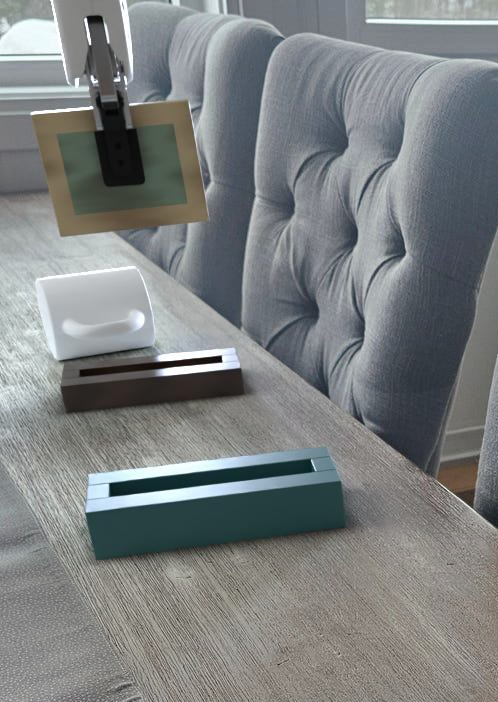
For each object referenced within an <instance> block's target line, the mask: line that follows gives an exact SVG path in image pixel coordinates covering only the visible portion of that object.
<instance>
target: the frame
mask: <svg viewBox="0 0 498 702" xmlns="http://www.w3.org/2000/svg"><path fill="white" fill-rule="evenodd" d="M129 108H130V114H131V119H132V125H133V129H135V128H136V129H137V135H138V141H139V147H140V152H141V158H142V164H143V170H144V175H145V182H144V184H141V185H129V186H115V187H108V186H106V185H105V184H104V181H103V175H102V170H101V165H100V160H99V155H98V149H97V144H96V139H95V134H94V131H97V128H96V123H95V118H94V113H93V107H92V106H89V107H88V106H87V107H77V108H65V109H55V110H42V111H41V110H40V111H32V112H31V113H30V117H31V122H32V127H33V131H34V134H35V138H36V142H37V147H38V150H39V154H40V158H41V162H42V163H41V164H42V167H43V171H44V175H45V176H44V177H45V180H46V183H47V187H48V192H49V196H50V200H51V204H52V209H53V212H54V217H55V221H56V223H57V224H56V225H57V229H58V233H59V236H60V238H66V237H76V236H84V235H85V236H86V235H92V234H103V233H112V232H120V231H131V230H138V229H139V230H140V229H148V228H157V227H158V228H159V227H167V226H175V225H184V224H193V223H194V224H195V223H203V222H210V221H211V220H210V214H209V213H210V212H209V207H208V202H207V195H206V191H205V185H204V179H203V174H202V173H203V172H202V167H201V161H200V155H199V152H198V145H197V140H196V139H197V138H196V132H195V127H194V121H193V116H192V110H191V104H190V100H189V99H188V98H181V99H171V100H169V99H168V100H158V101H145V102H134V103H129ZM122 110H123V109H122ZM100 112H101V111H100ZM123 116H124V113H123ZM101 117H102V116H101ZM124 120H125V118H124ZM125 127H126V124H125ZM103 128H104V126H103Z"/></svg>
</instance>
